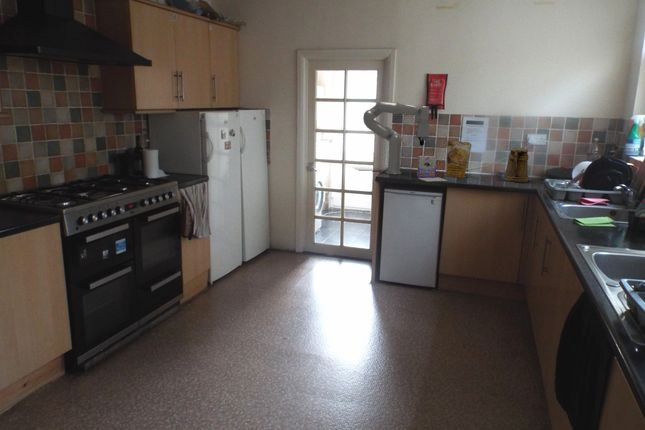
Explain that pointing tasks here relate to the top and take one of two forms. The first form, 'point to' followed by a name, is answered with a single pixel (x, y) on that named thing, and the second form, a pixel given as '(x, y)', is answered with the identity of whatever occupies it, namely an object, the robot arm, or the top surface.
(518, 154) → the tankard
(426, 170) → the candy box
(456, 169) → the pancake mix bag
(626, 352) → the top surface
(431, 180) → the mat
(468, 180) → the top surface
